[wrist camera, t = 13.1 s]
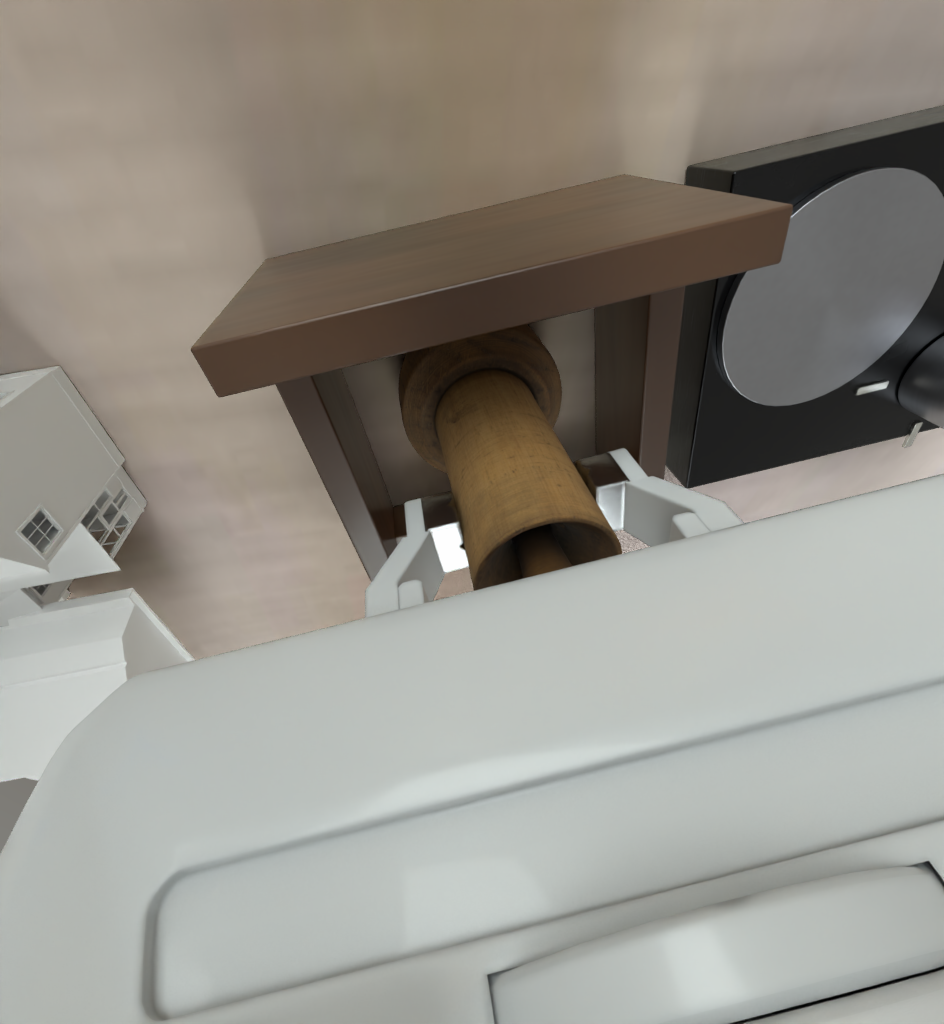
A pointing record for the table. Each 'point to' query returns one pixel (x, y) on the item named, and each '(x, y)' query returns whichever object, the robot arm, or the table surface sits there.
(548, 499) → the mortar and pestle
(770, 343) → the burner
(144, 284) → the table surface
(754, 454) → the hob
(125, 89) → the table surface
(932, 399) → the hob knob
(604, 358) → the spice rack
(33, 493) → the house model
